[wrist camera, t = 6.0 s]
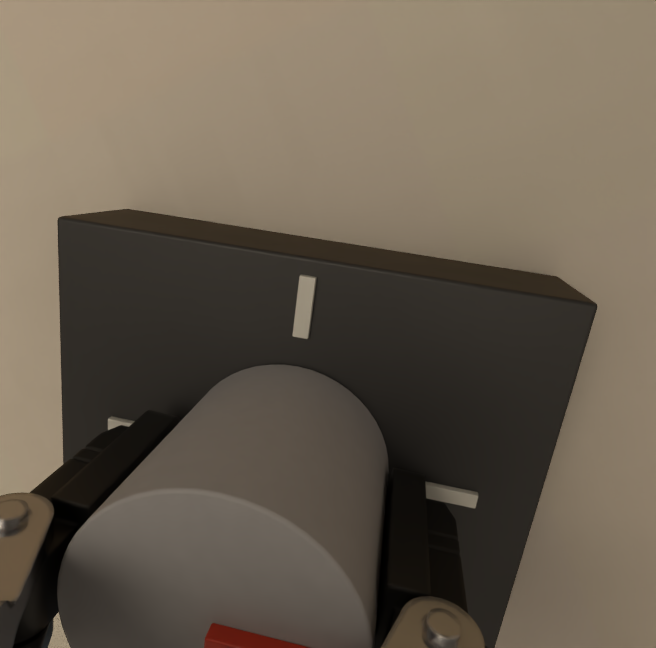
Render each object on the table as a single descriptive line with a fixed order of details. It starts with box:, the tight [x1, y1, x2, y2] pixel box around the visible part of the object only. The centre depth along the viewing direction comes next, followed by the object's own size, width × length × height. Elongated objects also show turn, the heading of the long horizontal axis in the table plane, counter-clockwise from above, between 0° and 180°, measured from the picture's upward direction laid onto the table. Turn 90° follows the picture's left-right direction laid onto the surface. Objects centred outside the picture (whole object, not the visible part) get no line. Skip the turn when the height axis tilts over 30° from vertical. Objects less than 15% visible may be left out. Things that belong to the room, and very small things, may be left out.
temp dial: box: [57, 365, 389, 648], centre depth 10 cm, size 5×5×5 cm
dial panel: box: [58, 209, 597, 648], centre depth 14 cm, size 10×12×3 cm
